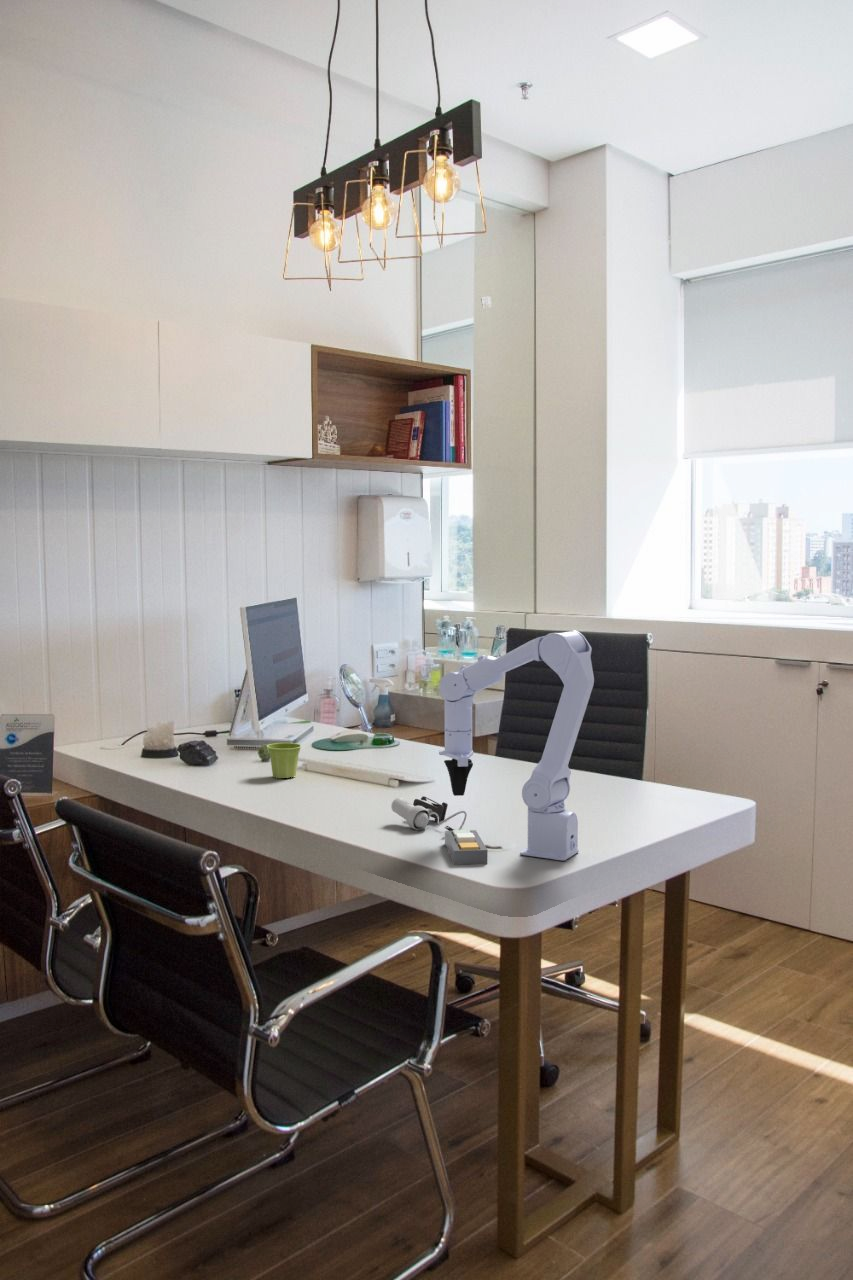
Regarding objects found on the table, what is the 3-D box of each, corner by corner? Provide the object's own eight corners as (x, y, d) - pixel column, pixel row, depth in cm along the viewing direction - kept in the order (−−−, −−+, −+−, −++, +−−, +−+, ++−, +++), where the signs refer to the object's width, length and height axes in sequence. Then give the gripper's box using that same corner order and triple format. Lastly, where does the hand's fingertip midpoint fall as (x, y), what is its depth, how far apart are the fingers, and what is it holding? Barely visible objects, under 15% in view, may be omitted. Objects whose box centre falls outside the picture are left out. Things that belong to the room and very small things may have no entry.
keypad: (444, 843, 215) (444, 831, 215) (475, 842, 216) (475, 830, 216) (454, 864, 200) (454, 850, 200) (487, 863, 201) (487, 849, 201)
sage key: (452, 838, 214) (452, 830, 214) (469, 838, 215) (469, 829, 215) (454, 843, 211) (454, 834, 211) (471, 842, 211) (471, 833, 211)
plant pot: (306, 774, 289) (305, 743, 288) (296, 781, 280) (295, 748, 279) (273, 773, 290) (273, 742, 290) (262, 780, 281) (261, 747, 281)
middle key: (455, 842, 209) (455, 833, 209) (472, 841, 210) (472, 832, 210) (458, 846, 206) (457, 837, 206) (475, 846, 206) (475, 837, 206)
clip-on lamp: (475, 844, 227) (422, 811, 240) (482, 816, 226) (429, 784, 239) (434, 848, 219) (382, 814, 232) (441, 819, 218) (388, 787, 231)
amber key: (459, 851, 205) (459, 842, 204) (476, 851, 205) (476, 842, 205) (461, 856, 201) (461, 847, 201) (478, 856, 201) (478, 846, 201)
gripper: (435, 724, 224) (435, 788, 225) (443, 735, 209) (443, 803, 210) (468, 724, 224) (468, 787, 225) (478, 734, 210) (478, 802, 211)
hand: (458, 794), depth 218 cm, fingers closed
